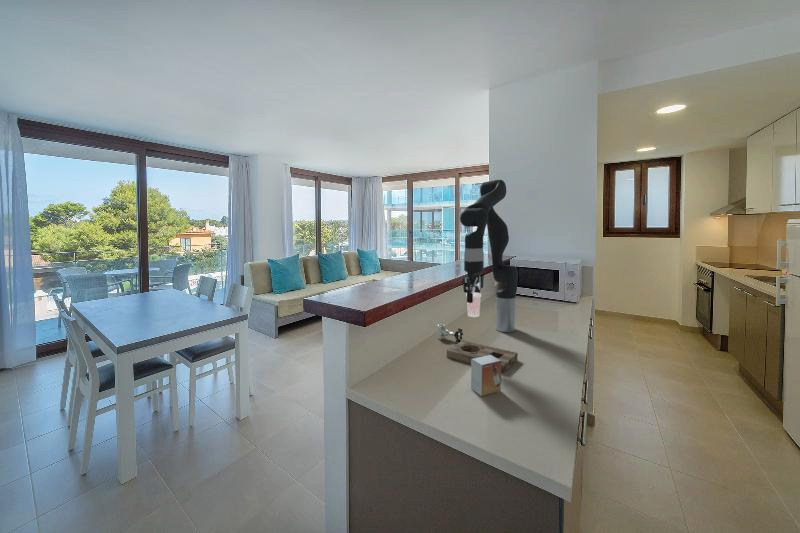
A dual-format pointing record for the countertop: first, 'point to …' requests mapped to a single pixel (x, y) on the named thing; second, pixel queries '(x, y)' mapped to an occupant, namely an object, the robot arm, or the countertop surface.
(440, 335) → the valve
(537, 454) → the countertop surface
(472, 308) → the beverage cup
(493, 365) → the small box
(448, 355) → the socket plate
